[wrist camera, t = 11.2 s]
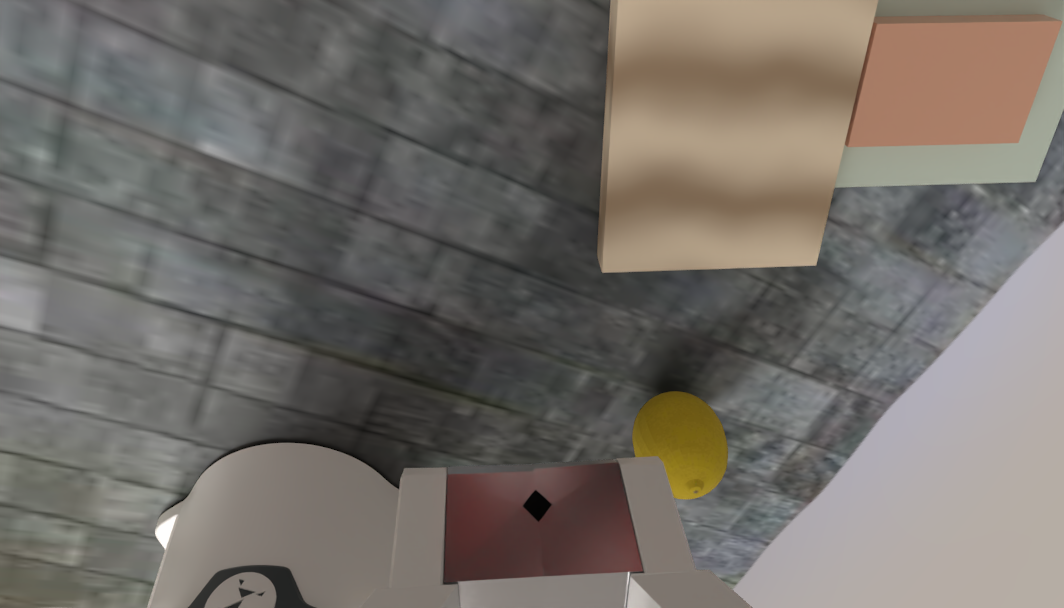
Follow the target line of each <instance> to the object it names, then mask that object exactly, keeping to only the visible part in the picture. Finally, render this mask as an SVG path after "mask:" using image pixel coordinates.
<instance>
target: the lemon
mask: <svg viewBox="0 0 1064 608" xmlns="http://www.w3.org/2000/svg"><path fill="white" fill-rule="evenodd" d="M632 439H633V446H634V452H635V456H636V457H652V456H658V457H659V458H660V459H661V460H662V462H663V464H664V467H665V470H666V473H667V477H668V480H669V483H670V486H671V490H672V493H673V496H674V498H678V499H694V498H698V497H701V496H703V495H705V494H707V493H709V492H710V491H711V490H713V489H714V488H715V487H716V486H717V484H718V483H719V482H720V481H721V479H722V477H723V475H724V473H725V470H726V467H727V459H728V447H727V441H726V437H725V433H724V429H723V426H722V424H721V422H720V420H719V419H718V417H717V416H716V414H715V413H714V411H713V410H712V409H711V407H710V406H709V405H708V404H706V403H705V402H704V401H702V400H701V399H700V398H698V397H696V396H694V395H692V394H689V393H686V392H679V391H670V392H665V393H661V394H659V395H657V396H655V397H653V398H652V399H650V400H649V401H647V402H646V404H645V405H644V406H643V407H642V408H641V409H640V411H639V413H638V415H637V417H636V419H635V422H634V427H633V434H632Z"/></svg>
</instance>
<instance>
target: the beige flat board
mask: <svg viewBox="0 0 1064 608" xmlns="http://www.w3.org/2000/svg"><path fill="white" fill-rule="evenodd" d="M877 4H878V0H611V3H610V21H609V40H608V59H607V77H606V96H605V115H604V133H603V152H602V171H601V189H600V208H599V226H598V245H597V257H598V260H599V264H600V267H601V271H602V273H612V272H641V271H671V270H700V269H729V268H758V267H787V266H816V264H817V260H818V255H819V251H820V247H821V243H822V238H823V234H824V230H825V226H826V221H827V217H828V213H829V209H830V204H831V200H832V196H833V192H834V187H835V183H836V179H837V175H838V170H839V166H840V162H841V158H842V153H843V149H844V145H845V141H846V136H847V132H848V128H849V124H850V119H851V115H852V111H853V106H854V102H855V98H856V94H857V89H858V85H859V81H860V77H861V72H862V68H863V64H864V60H865V55H866V51H867V47H868V43H869V38H870V34H871V30H872V26H873V21H874V17H875V13H876V9H877Z"/></svg>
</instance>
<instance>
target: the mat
mask: <svg viewBox="0 0 1064 608" xmlns="http://www.w3.org/2000/svg"><path fill="white" fill-rule="evenodd" d="M1026 14H1043V15H1046V16H1049V17H1052V18H1055V19H1058V20H1061V21H1063V22H1062V25H1061V28H1060V30H1059V33H1058V36H1057V39H1056V41H1055V44H1054V47H1053V50H1052V52H1051V55H1050V58H1049V61H1048V63H1047V66H1046V69H1045V72H1044V74H1043V77H1042V80H1041V82H1040V85H1039V88H1038V91H1037V93H1036V96H1035V99H1034V102H1033V104H1032V107H1031V110H1030V113H1029V115H1028V118H1027V121H1026V123H1025V126H1024V129H1023V132H1022V134H1021V137H1020V140H1019V143H1000V144H959V145H918V146H877V147H847V146H846V145H844V149H843V153H842V158H841V162H840V166H839V170H838V175H837V179H836V183H835V187H834V188H837V187H873V186H908V185H943V184H979V183H1014V182H1036V179H1037V177H1038V174H1039V172H1040V169H1041V166H1042V164H1043V161H1044V159H1045V156H1046V154H1047V151H1048V148H1049V146H1050V143H1051V141H1052V138H1053V136H1054V133H1055V130H1056V128H1057V125H1058V123H1059V120H1060V118H1061V115H1062V112H1063V110H1064V0H878V4H877V9H876V13H875V17H883V16H955V15H1026Z"/></svg>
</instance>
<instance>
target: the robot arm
mask: <svg viewBox="0 0 1064 608" xmlns="http://www.w3.org/2000/svg"><path fill="white" fill-rule="evenodd" d="M155 535H156V537H157V539H158V540H159V542H160V543H161V544H162V546H163V547H164V549H165V553H164V556H163V559H162V562H161V565H160V568H159V571H158V575H157V578H156V581H155V584H154V587H153V590H152V594H151V597H150V600H149V603H148V607H147V608H752V607H751V606H750V605H749V604H748V603H747V602H746V601H744V600H743V599H742V598H741V597H740V596H739V595H738V594H737V593H735V592H734V591H733V590H732V589H731V588H730V587H729V586H727V585H726V584H725V583H724V582H723V581H722V580H721V579H720V578H718V577H717V576H716V575H715V574H714V573H713V572H712V571H710V570H696V568H695V564H694V561H693V558H692V555H691V551H690V548H689V545H688V542H687V538H686V535H685V532H684V529H683V525H682V522H681V519H680V516H679V512H678V509H677V506H676V503H675V499H674V496H673V493H672V490H671V486H670V483H669V480H668V477H667V473H666V470H665V467H664V464H663V462H662V460H661V459H660V458H659V457H658V456H652V457H635V458H618V459H616V460H614V459H603V460H586V461H569V462H551V463H534V464H520V465H478V466H448V467H435V468H404V471H403V473H402V476H401V479H400V488H399V489H397V488H396V487H394V486H393V485H392V484H390V483H389V482H388V481H387V480H386V479H385V478H383V477H382V476H381V475H380V474H379V473H378V472H376V471H375V470H374V469H372V468H371V467H369V466H368V465H366V464H365V463H363V462H361V461H360V460H358V459H356V458H354V457H352V456H349V455H347V454H344V453H342V452H339V451H336V450H333V449H329V448H325V447H321V446H316V445H310V444H301V443H272V444H264V445H258V446H253V447H249V448H246V449H243V450H239V451H237V452H234V453H232V454H230V455H228V456H226V457H224V458H222V459H220V460H219V461H217V462H216V463H214V464H213V465H212V466H210V467H209V468H208V469H207V470H206V471H205V472H204V473H203V474H202V475H201V476H200V478H199V479H198V480H197V482H196V484H195V485H194V487H193V489H192V491H191V492H190V494H189V495H188V497H187V498H186V499H185V500H184V501H182V502H180V503H179V504H177V505H175V506H173V507H172V508H170V509H169V510H167V511H166V512H164V513H163V514H162V515H161V516H160V517H159V519H158V523H157V526H156V529H155Z"/></svg>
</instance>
